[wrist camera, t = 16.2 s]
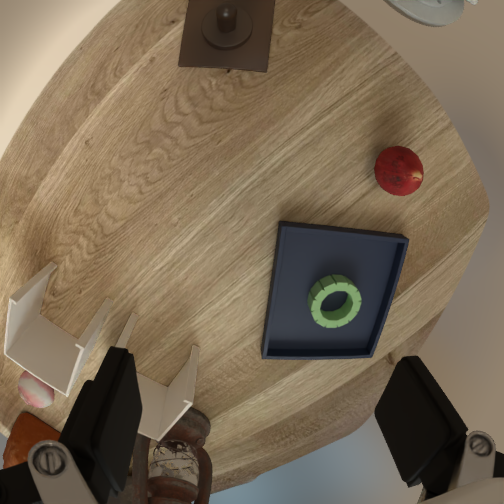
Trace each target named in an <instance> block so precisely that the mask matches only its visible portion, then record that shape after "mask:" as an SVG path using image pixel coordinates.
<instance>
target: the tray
mask: <svg viewBox="0 0 504 504" xmlns="http://www.w3.org/2000/svg"><path fill="white" fill-rule="evenodd" d="M408 243H409V239H408V238H406V237H405V236H403V235H402V234H395V233H387V232H379V231H371V230H362V229H353V228H344V227H335V226H326V225H316V224H306V223H296V222H286V221H279V226H278V233H277V241H276V248H275V255H274V262H273V270H272V277H271V284H270V291H269V298H268V304H267V311H266V318H265V325H264V331H263V338H262V344H261V355H262V359H284V360H322V359H356V358H372V356H373V354H374V351H375V349H376V346H377V343H378V341H379V338H380V335H381V332H382V330H383V327H384V324H385V321H386V318H387V315H388V312H389V309H390V306H391V303H392V300H393V297H394V294H395V290H396V287H397V284H398V280H399V277H400V273H401V270H402V266H403V263H404V259H405V255H406V251H407V247H408ZM332 274H334V275H343V276H345V277H347V278H348V279H350V280H351V281H352V282H353V283H354V285H355V286H356V287H357V289H358V290H359V292H360V296H361V299H362V300H361V305H360V309H359V311H358V312H357V315H356V316H355V317H354V318H353V319H352V320H351V321H349V320H348V323H347V324H345V325H343V326H340V327H338V326H337V328H326V327H323V326H321V325H320V324H318V323H316V321H314V318H313V316H312V313H311V311H310V309H309V306H308V304H307V303H308V302H307V300H308V295H309V291H311V290H310V289H311V288H312V287H313V286H314V284H315V283H316V282H317V281H319V282H320V279H322V278H324V277H326V276H328V275H330V276H332ZM347 296H348V293H347V292H346V291H335V292H333V293H330V294H328V295H327V296H326V297H325V299H324V300H323V301H322V303H321V307H320V309H322V310H323V311H335V310H337V309H339V308H341V307H342V306H343V304H344V303H345V302H346V300H347Z"/></svg>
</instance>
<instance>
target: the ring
mask: <svg viewBox="0 0 504 504" xmlns="http://www.w3.org/2000/svg"><path fill="white" fill-rule="evenodd" d="M310 290H311V291H309V295H308V300H307V302H308V303H307V304H308V306H309V309H310V311H311V313H312V316H313V318H314V321H316V323H318V324H320V325H321V326H323V327H326V328H337V326H338V327H340V326H343V325H345V324H347V323H348V320H349V321H351V320H352V319H353V318H354V317H355V316H356V315H357V312H358V311H359V309H360V305H361V300H362V299H361V296H360V292H359V290H358V289H357V287H356V286H355V285H354V283H353V282H352V281H351V280H350V279H348V278H347V277H345V276H343V275H334V274H332V276H330V275H328V276H326V277H324V278H322V279H320V282H319V281H317V282H316V283H315V284H314V286H313V287H312V288H311V289H310ZM335 291H346V292H347V293H348V296H347V300H346V302H345V303H344V304H343V306H342V307H341V308H339V309H337V310H335V311H323V310H322V309H320V307H321V303H322V301H323V300H324V299H325V297H326V296H327V295H328V294H330V293H333V292H335Z"/></svg>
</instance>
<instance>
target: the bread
mask: <svg viewBox="0 0 504 504" xmlns="http://www.w3.org/2000/svg"><path fill="white" fill-rule="evenodd" d="M60 435H61V434H60V433H59V432H57V431H56V430H54V429H53V428H51V427H50V426H48V425H47V424H46V423H44V422H42V421H41V420H39V419H38V418H36V417H35V416H33V415H31V414H29V413H27V412H26V413H22V414H20V415H19V417H18V418H17V420H16V422H15V424H14V426H13V428H12V431H11V434H10V436H9V438H8V440H7V444H6V448H5V451H4V454H3V459H4V465H3V469H5V468H8V467H11V466H14V465H17V464H20V463H23V462H26V461H28V460H27V458H28V453H29V451H30V449H31V448H32V447H33V446H34V445H35V444H36V443H38V442H41V441H44V440H53V441H57V442H58V439H59V437H60Z"/></svg>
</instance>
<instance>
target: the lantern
mask: <svg viewBox="0 0 504 504" xmlns="http://www.w3.org/2000/svg"><path fill="white" fill-rule="evenodd" d="M209 433H210V422H209V420H208V418H207V417H206V416H205V415H204V414H202V413H201V412H199V411H197V410H195V409H193V408H189V409H188V410H187V411H186V412H185V413H184V414H183V415H182V417H181V418H180V419H179V420H178V421H177V422H176V423H175V424H174V425H173V427H172V428H171V429H170V430H169V431H168V432H167V433H166V434H165V435H164V437H163V438H162V439H161V440H160V441H157V440H155V441H156V442H157V443H159V444H160V445H159V444H158V445H157V446H156V448H157V449H158V450H157V451H155V450H156V448H155V449H154V452H156V453H157V454H156V456H157V455H158V454H159V452H160V453H161V454H160V455H158V456H157V457H158V459H156V460H157V461H155V458H154V456H155V454H154V452H153V458H154V459H152V460H153V462H151V464H150V468H151V469H149V471H150V473H149V474H148V454H149V445H150V440H151V438H149V437H147V436H145V435H142V434H140V433H138V432H137V436H136V440H135V445H134V452H133V466H132V504H191V502H192V501H194V500H195V501H194V504H208V503H209V497H210V491H211V484H212V463H211V459H210V457H209V455H208V453H207V452H206V451H205V450H204V449H203V448H202V447H203V446H204V444H205V438H206V437H207V436H208V434H209ZM161 445H162V446H161ZM160 447H162V448H163V447H165V448H167V449H169V450H167V451H165V454H163V453H162V452H161V450H160V449H161V448H160ZM159 448H160V449H159ZM163 451H164V450H163ZM189 452H190V453H191V454H190V453H189ZM185 453H186V454H185ZM188 453H189V454H188ZM187 454H188V455H189V456H188V455H187ZM186 455H187V456H186ZM156 456H155V457H156ZM165 456H166V457H165ZM183 456H185V458H182V457H183ZM190 456H191V457H190ZM157 457H156V458H157ZM161 458H162V459H164V460H162V459H161ZM165 458H166V459H165ZM193 458H195V459H193ZM191 459H192V460H191ZM158 460H159V461H158ZM169 460H170V461H169ZM184 460H185V461H184ZM189 460H191V462H192V466H190V467H187V466H188V465H187V464H190V463H191V462H188V461H189ZM194 460H196V461H194ZM168 461H169V464H170V463H171V462H173V464H174V465H175V466H174V468H175V467H179V468H180V469H181V470H182V469H185V470H186V468H181V467H183V465H184V466H186V467H187V468H190V469H189V470H190V471H191V473H192V475H193V476H192V475H191V474H190V475H189V473H188V471H187V470H186V471H187V473H186V472H185V470H182V471H181V470H180V469H172V470H179V471H180V472H179V474H177V473H178V472H177V471H176V472H177V473H176V474H175V473H174V471H171V469H170V468H166V466H165V465H163V466H165V467H163V466H162V464H163V463H164V462H165V463H164V464H167V462H168ZM156 462H158V464H159V465H161V466H160V467H159V466H158V465H157V463H156ZM196 462H197V463H196ZM186 463H187V464H186ZM173 464H172V463H171V465H172V466H171V467H173ZM198 464H199V466H198ZM153 465H154V466H153ZM155 465H157V467H155ZM190 465H191V464H190ZM195 466H196V467H195ZM161 467H162V468H161ZM191 467H192V468H193V469H192V468H191ZM164 468H165V469H166V470H165V469H164ZM163 469H164V470H163ZM192 470H194V471H193V472H192ZM163 471H165V472H163ZM166 472H168V473H169V475H167V474H165V473H166ZM194 472H195V473H194ZM151 473H152V474H151ZM161 473H163V475H162V474H161ZM174 474H175V475H174ZM185 474H186V475H185ZM195 474H198V475H195ZM160 475H161V476H160ZM165 475H167V476H165ZM148 476H149V478H148ZM152 476H153V477H152ZM168 476H169V477H168ZM173 476H175V477H173ZM183 477H184V478H183ZM197 482H198V483H197ZM196 485H197V486H196ZM148 492H149V493H150V494H151V497H148Z"/></svg>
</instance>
